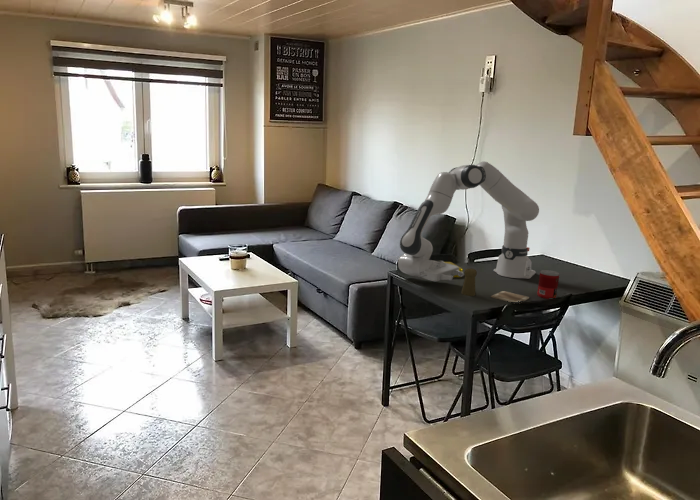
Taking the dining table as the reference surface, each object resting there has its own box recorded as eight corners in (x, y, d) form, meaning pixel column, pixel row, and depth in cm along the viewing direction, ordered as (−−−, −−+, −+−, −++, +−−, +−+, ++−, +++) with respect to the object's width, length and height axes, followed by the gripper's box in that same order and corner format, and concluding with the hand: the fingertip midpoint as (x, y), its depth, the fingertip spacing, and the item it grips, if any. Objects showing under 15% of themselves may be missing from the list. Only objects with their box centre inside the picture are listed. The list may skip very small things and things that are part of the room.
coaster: (503, 292, 254) (503, 290, 253) (529, 298, 246) (529, 296, 246) (490, 297, 244) (490, 295, 244) (517, 304, 237) (517, 302, 237)
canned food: (557, 300, 246) (560, 275, 244) (537, 298, 248) (541, 273, 245) (554, 295, 253) (558, 271, 251) (535, 293, 255) (539, 269, 253)
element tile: (449, 270, 290) (450, 260, 289) (463, 278, 276) (464, 268, 275) (422, 270, 285) (423, 260, 284) (434, 278, 271) (435, 268, 270)
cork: (459, 291, 250) (462, 267, 248) (473, 292, 251) (475, 267, 249) (463, 295, 244) (466, 270, 242) (477, 296, 245) (480, 271, 243)
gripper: (418, 266, 250) (445, 273, 241) (442, 259, 265) (469, 265, 257) (416, 280, 251) (444, 287, 243) (441, 273, 267) (468, 279, 258)
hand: (457, 276), depth 250 cm, fingers open, 8 cm apart
